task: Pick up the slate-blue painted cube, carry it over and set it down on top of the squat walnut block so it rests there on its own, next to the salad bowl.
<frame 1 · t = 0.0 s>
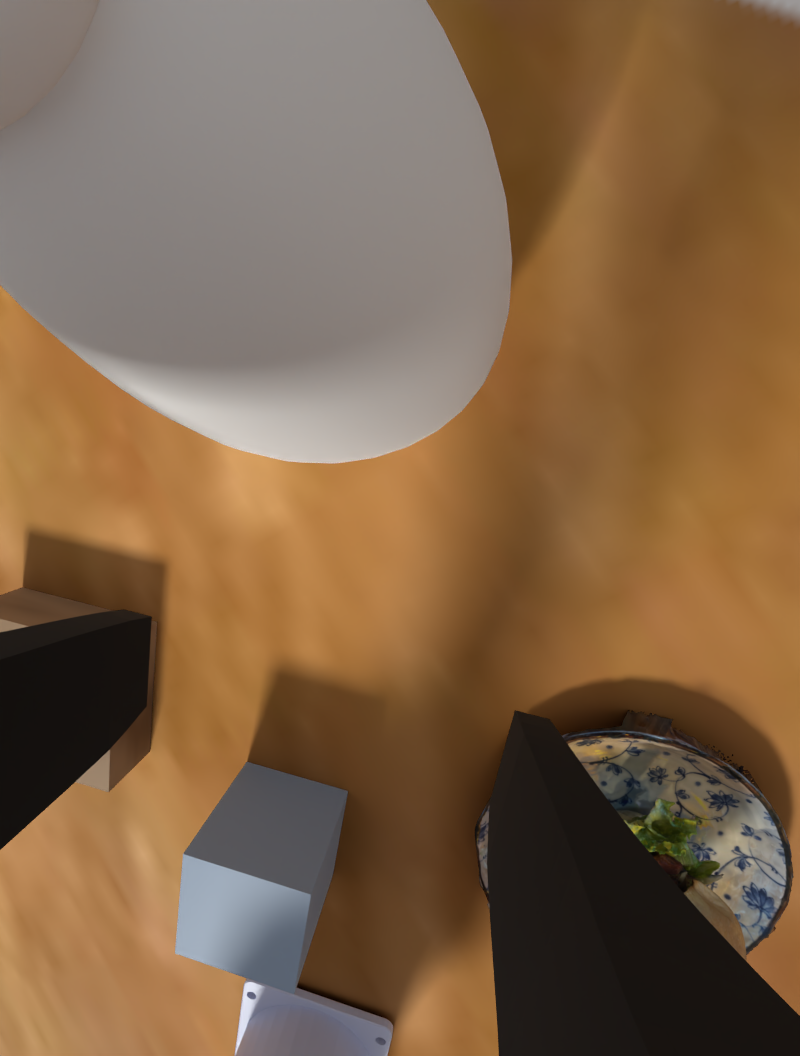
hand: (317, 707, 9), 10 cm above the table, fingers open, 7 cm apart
blue cube: (291, 817, 22), on the table
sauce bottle: (389, 340, 17), on the table
salad bowl: (611, 827, 20), on the table
walnut block: (93, 667, 23), on the table
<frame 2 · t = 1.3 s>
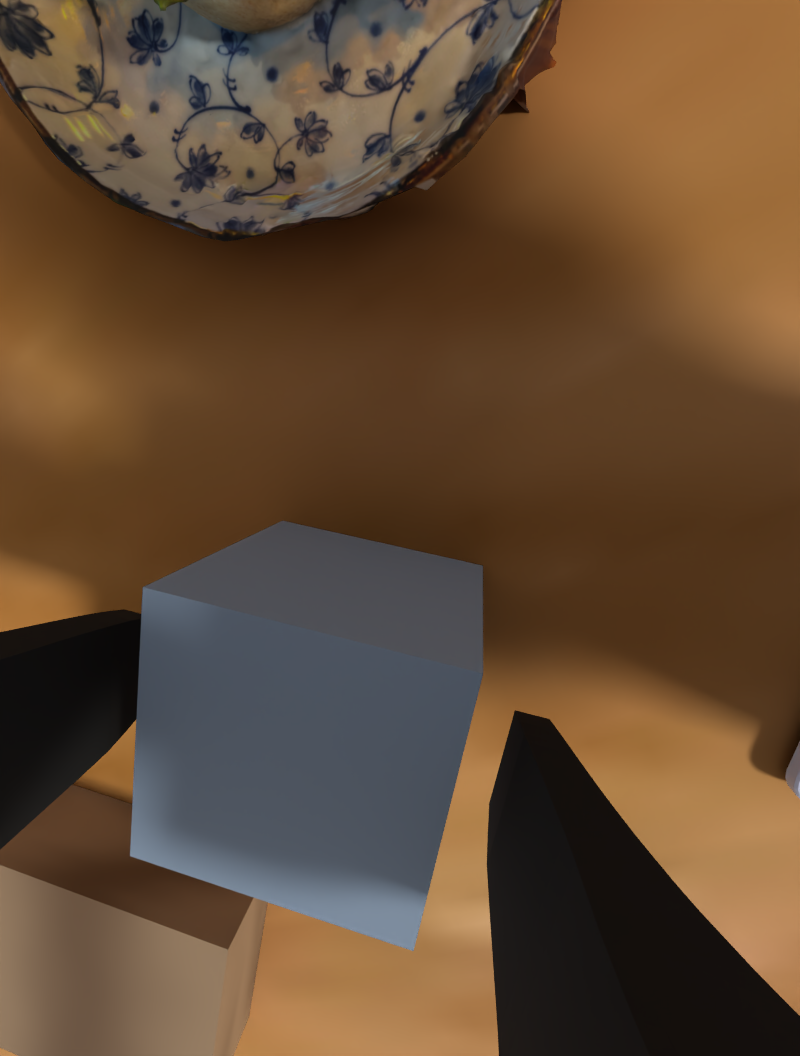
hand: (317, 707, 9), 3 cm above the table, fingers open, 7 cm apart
blue cube: (364, 634, 12), on the table
walnut block: (167, 893, 15), on the table
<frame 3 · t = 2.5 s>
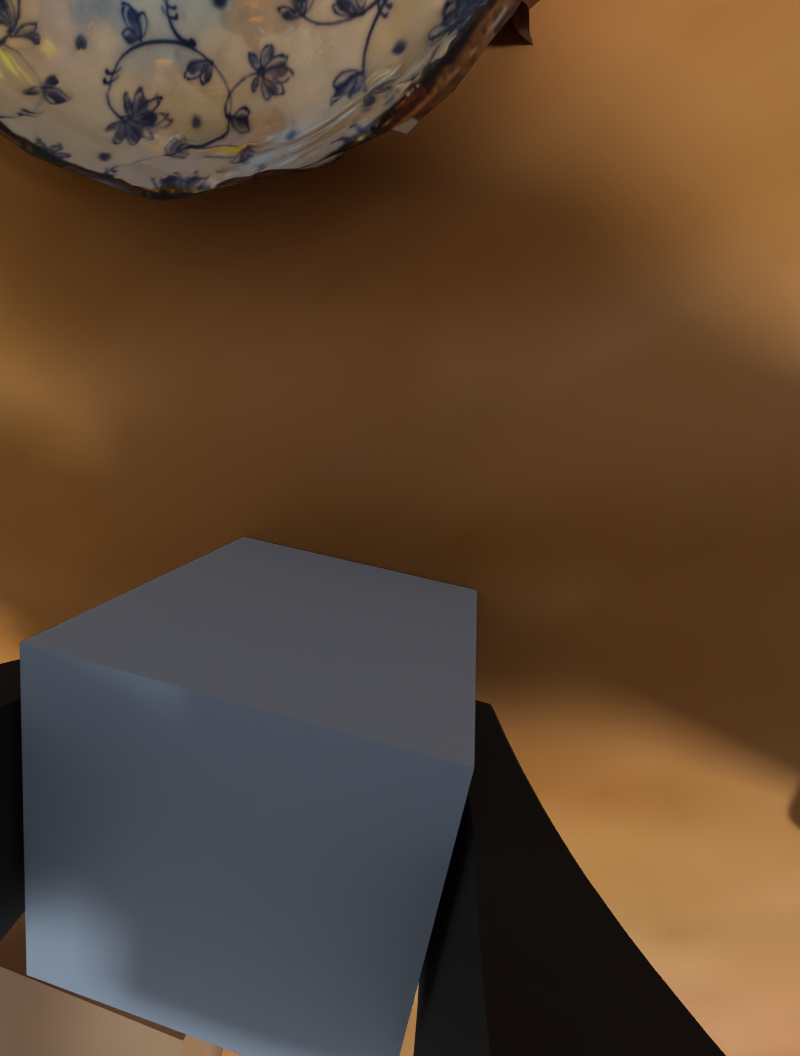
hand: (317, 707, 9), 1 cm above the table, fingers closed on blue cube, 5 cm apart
blue cube: (339, 669, 10), on the table, touching gripper
walnut block: (126, 948, 14), on the table
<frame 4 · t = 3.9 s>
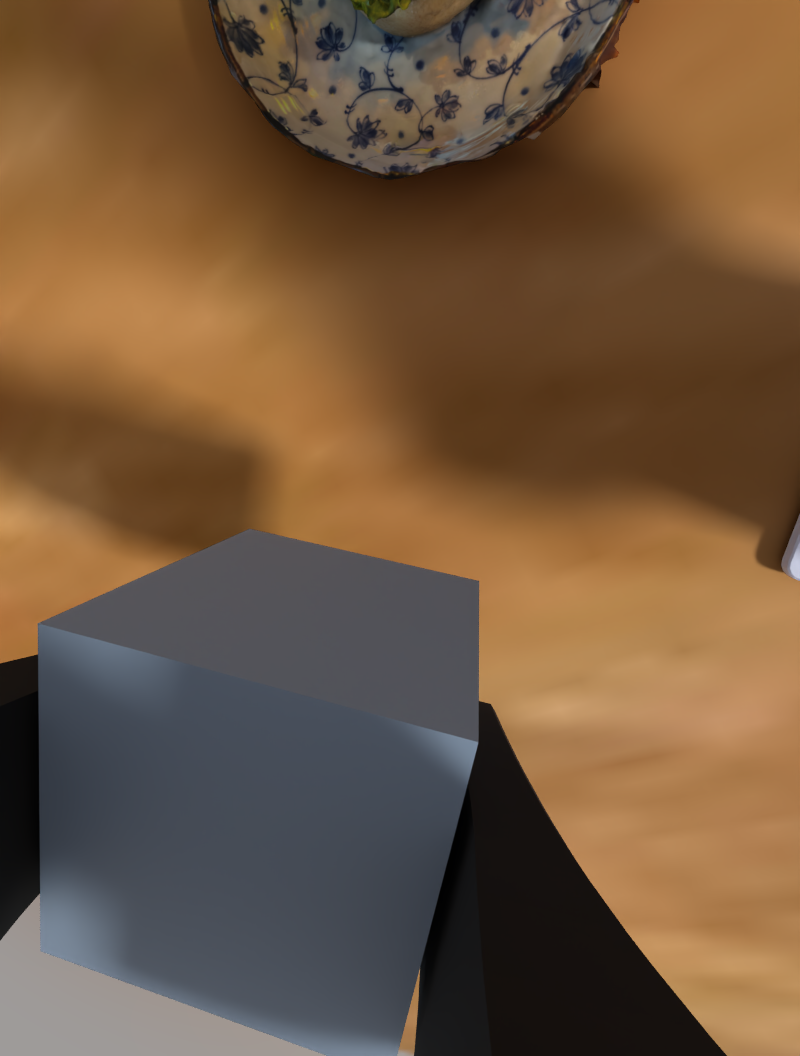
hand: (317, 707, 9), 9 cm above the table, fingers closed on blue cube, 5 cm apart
blue cube: (342, 659, 10), point 7 cm above the table, touching gripper
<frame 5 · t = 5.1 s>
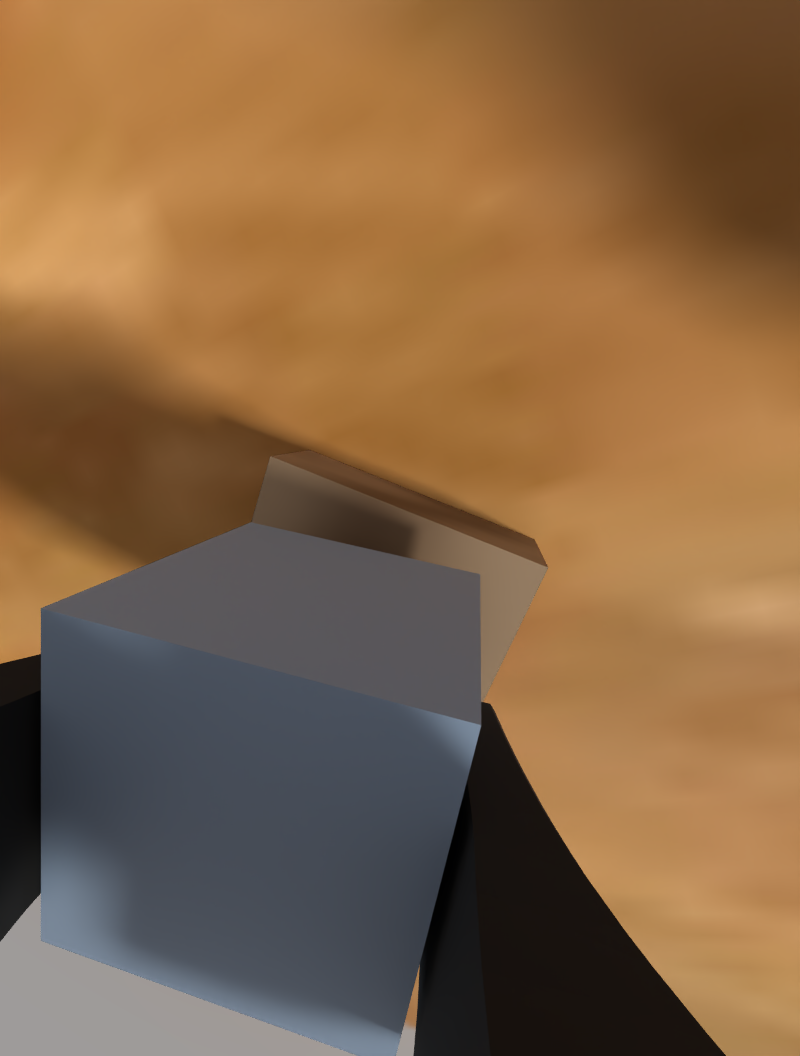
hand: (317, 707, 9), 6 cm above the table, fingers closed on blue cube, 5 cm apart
blue cube: (343, 653, 10), point 4 cm above the table, touching gripper
walnut block: (381, 594, 15), on the table
when the fingers open (6 cm above the table, at t = 5.7 s): blue cube drops 1 cm, resting on walnut block.
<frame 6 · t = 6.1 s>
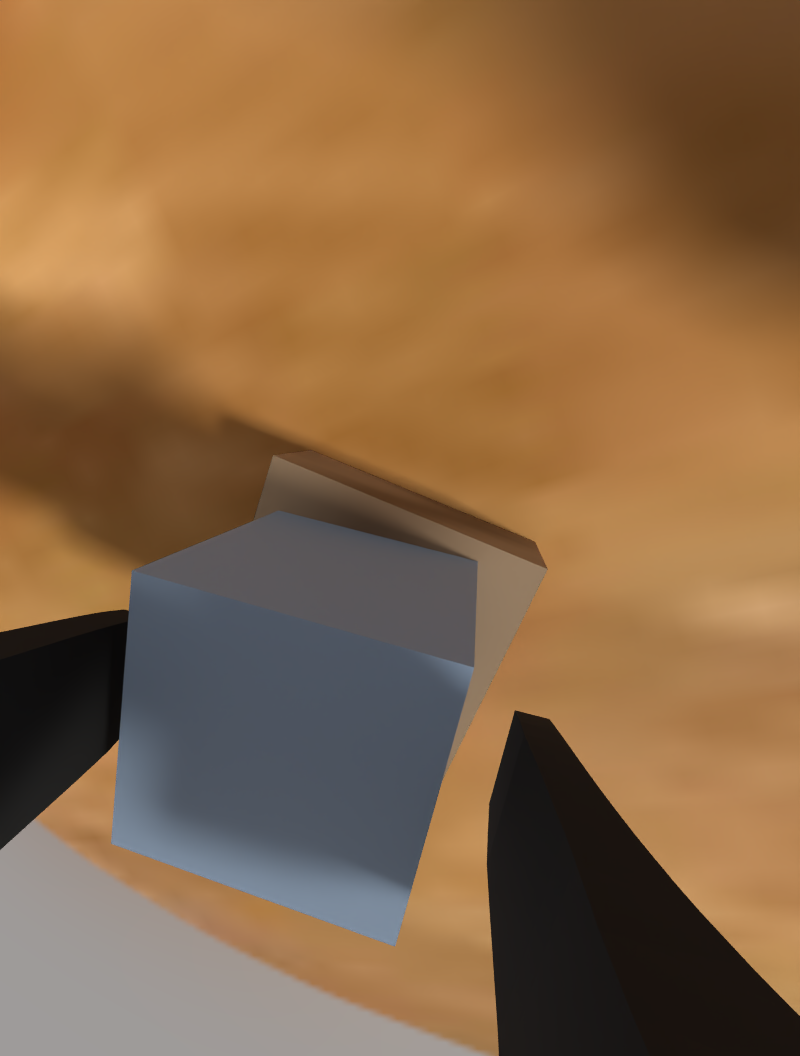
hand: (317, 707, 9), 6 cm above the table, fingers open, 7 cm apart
blue cube: (356, 628, 12), point 3 cm above the table, touching walnut block
walnut block: (381, 594, 15), on the table, touching blue cube
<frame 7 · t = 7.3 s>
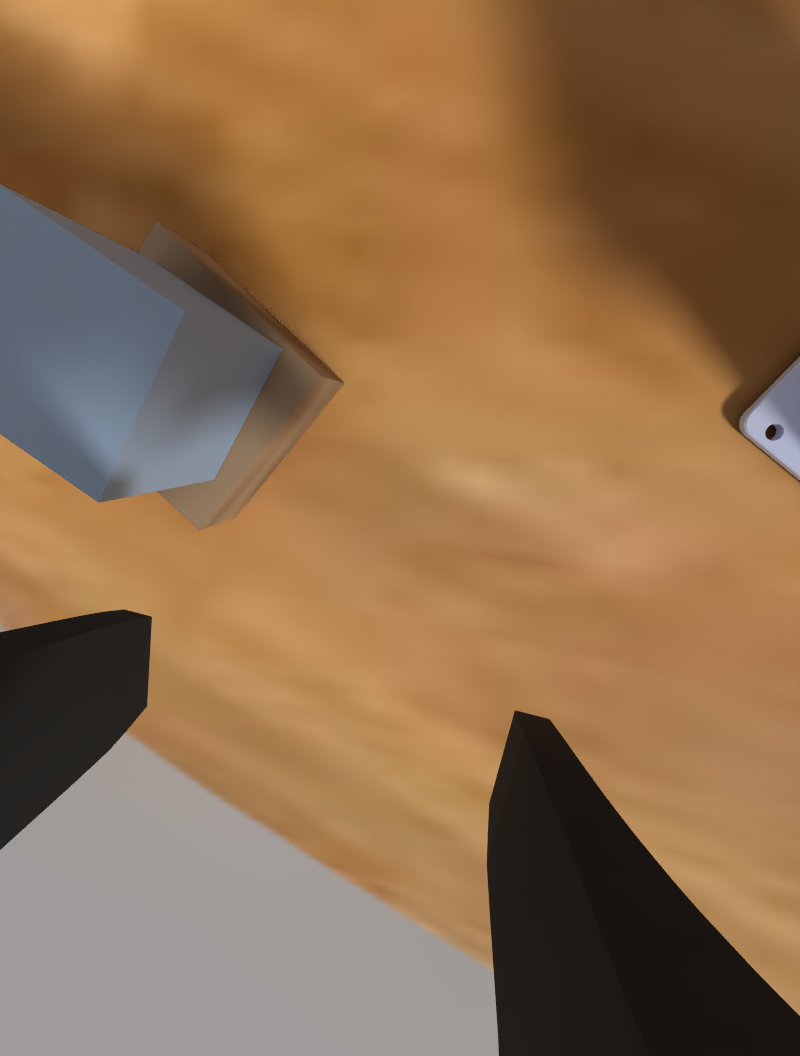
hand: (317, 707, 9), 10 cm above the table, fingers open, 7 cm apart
blue cube: (185, 374, 15), point 3 cm above the table, touching walnut block
walnut block: (226, 391, 18), on the table, touching blue cube
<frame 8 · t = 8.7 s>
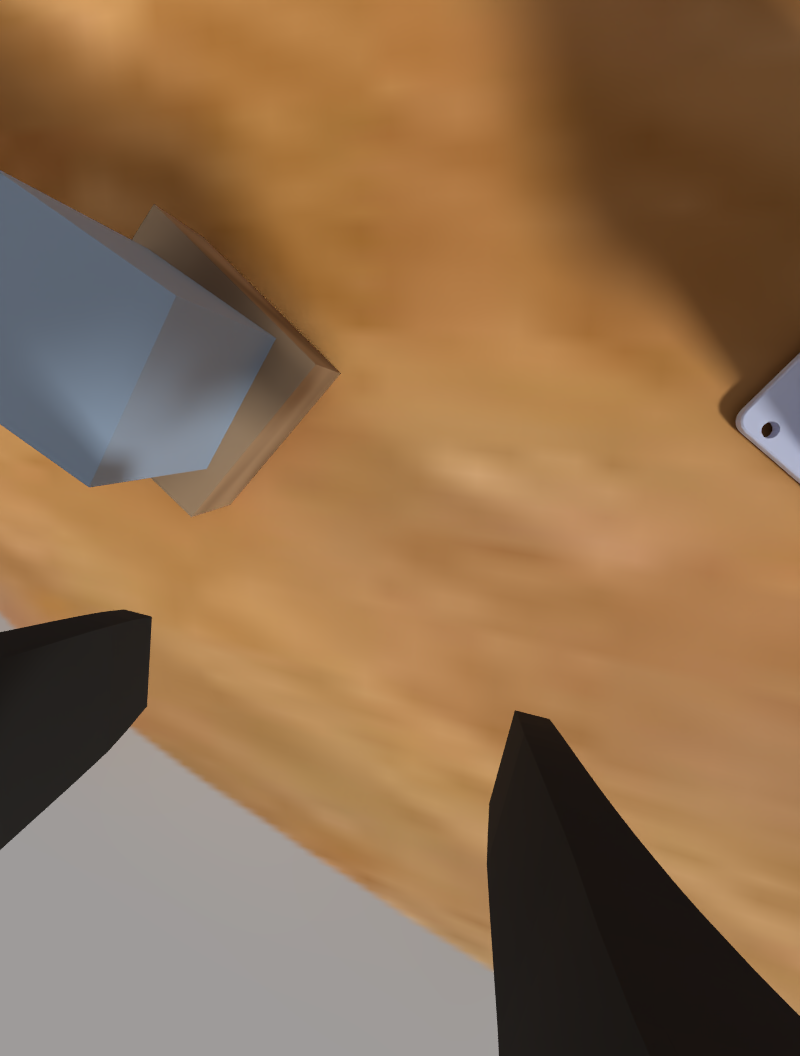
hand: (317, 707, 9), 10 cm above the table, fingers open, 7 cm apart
blue cube: (178, 363, 15), point 3 cm above the table
walnut block: (222, 379, 18), on the table
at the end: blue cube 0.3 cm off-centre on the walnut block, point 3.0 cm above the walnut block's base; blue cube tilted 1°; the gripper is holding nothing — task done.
